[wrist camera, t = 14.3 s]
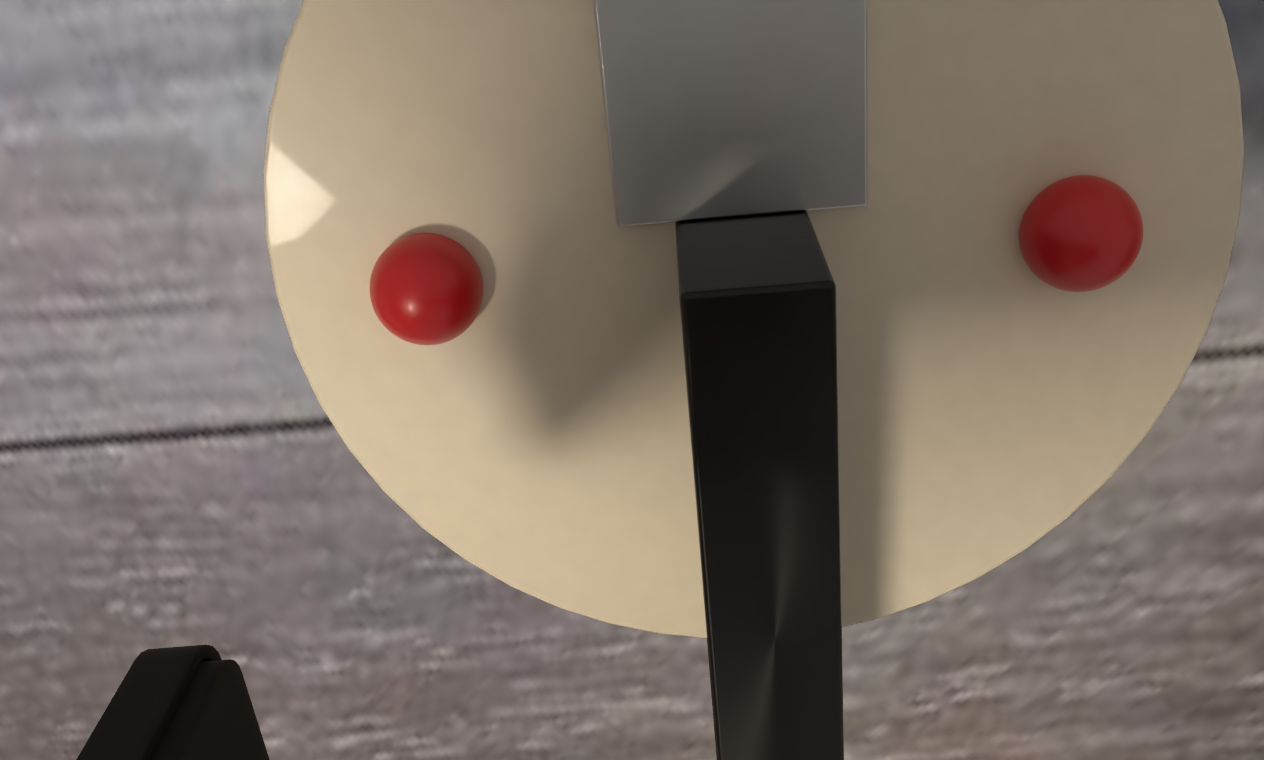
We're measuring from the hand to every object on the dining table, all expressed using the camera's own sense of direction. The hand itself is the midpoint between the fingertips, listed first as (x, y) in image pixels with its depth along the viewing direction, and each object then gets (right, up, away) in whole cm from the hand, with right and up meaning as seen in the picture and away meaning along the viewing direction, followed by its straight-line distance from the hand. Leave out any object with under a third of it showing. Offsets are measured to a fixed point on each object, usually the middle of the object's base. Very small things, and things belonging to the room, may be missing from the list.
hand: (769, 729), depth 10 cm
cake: (0, +7, +9) cm, 12 cm away
